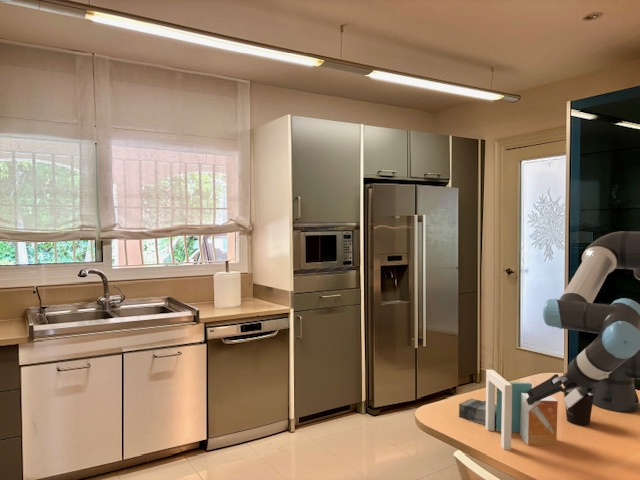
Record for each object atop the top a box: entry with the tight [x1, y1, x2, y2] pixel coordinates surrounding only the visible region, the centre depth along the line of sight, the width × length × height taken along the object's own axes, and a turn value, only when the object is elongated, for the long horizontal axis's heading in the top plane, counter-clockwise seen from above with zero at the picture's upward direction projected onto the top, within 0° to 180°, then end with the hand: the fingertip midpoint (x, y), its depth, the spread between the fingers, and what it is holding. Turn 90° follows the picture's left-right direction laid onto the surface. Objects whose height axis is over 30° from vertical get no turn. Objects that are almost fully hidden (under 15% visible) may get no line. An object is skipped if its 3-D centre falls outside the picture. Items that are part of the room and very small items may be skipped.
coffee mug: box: [563, 386, 594, 427], centre depth 154 cm, size 12×9×10 cm
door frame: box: [484, 369, 512, 451], centre depth 141 cm, size 2×14×18 cm, turn 0°
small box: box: [519, 393, 559, 447], centre depth 139 cm, size 8×6×13 cm
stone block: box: [458, 398, 497, 429], centre depth 154 cm, size 9×14×5 cm, turn 43°
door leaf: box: [495, 381, 533, 433], centre depth 144 cm, size 2×10×14 cm, turn 85°
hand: (546, 405), depth 135 cm, fingers open, 13 cm apart
